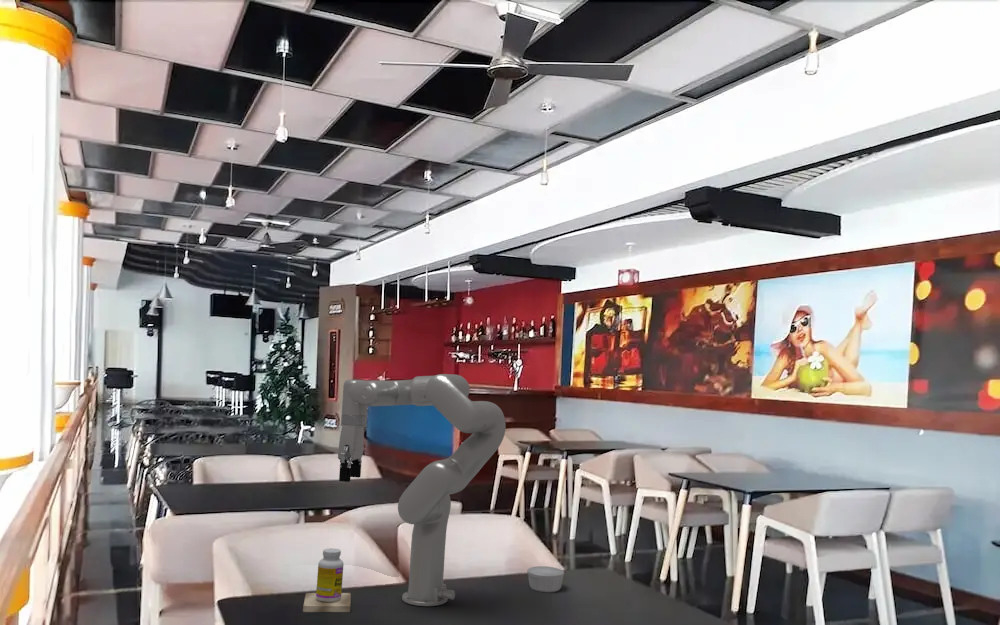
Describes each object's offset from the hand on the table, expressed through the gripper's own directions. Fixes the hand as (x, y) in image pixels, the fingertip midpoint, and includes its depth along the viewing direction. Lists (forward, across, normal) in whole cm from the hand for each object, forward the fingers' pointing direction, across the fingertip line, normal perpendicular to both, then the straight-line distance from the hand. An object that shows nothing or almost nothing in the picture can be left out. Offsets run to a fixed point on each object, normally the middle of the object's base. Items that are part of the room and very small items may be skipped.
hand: (349, 479), depth 236 cm
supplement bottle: (+29, +21, +3) cm, 36 cm away
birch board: (+30, +21, +3) cm, 37 cm away
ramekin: (+31, -15, +58) cm, 68 cm away
